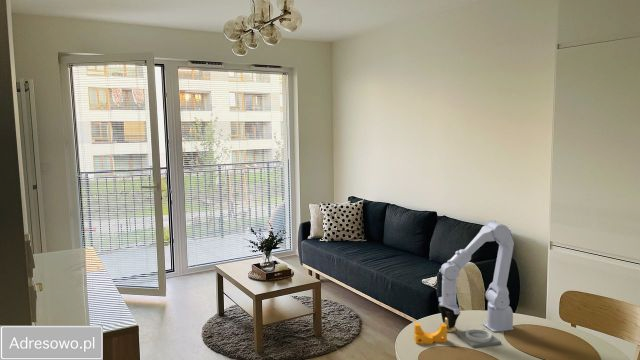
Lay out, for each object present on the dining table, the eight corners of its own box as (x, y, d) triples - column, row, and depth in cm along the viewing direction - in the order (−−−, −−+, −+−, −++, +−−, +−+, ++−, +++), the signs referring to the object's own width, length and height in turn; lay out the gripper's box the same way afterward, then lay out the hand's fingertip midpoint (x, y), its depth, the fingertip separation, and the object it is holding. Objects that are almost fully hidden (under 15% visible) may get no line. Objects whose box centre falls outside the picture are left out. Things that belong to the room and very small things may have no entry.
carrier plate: (483, 331, 192) (483, 326, 192) (501, 344, 180) (501, 338, 180) (456, 334, 189) (456, 329, 189) (472, 347, 178) (472, 342, 177)
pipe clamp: (415, 343, 182) (416, 327, 181) (414, 338, 186) (414, 323, 185) (447, 344, 181) (447, 328, 180) (445, 339, 185) (445, 323, 185)
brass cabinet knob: (451, 326, 197) (451, 314, 197) (458, 332, 192) (459, 320, 191) (438, 327, 196) (438, 315, 196) (445, 333, 190) (445, 321, 190)
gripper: (432, 287, 198) (431, 318, 200) (448, 299, 184) (448, 333, 186) (447, 286, 200) (447, 317, 201) (465, 298, 186) (464, 331, 187)
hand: (448, 324), depth 194 cm, fingers open, 5 cm apart
